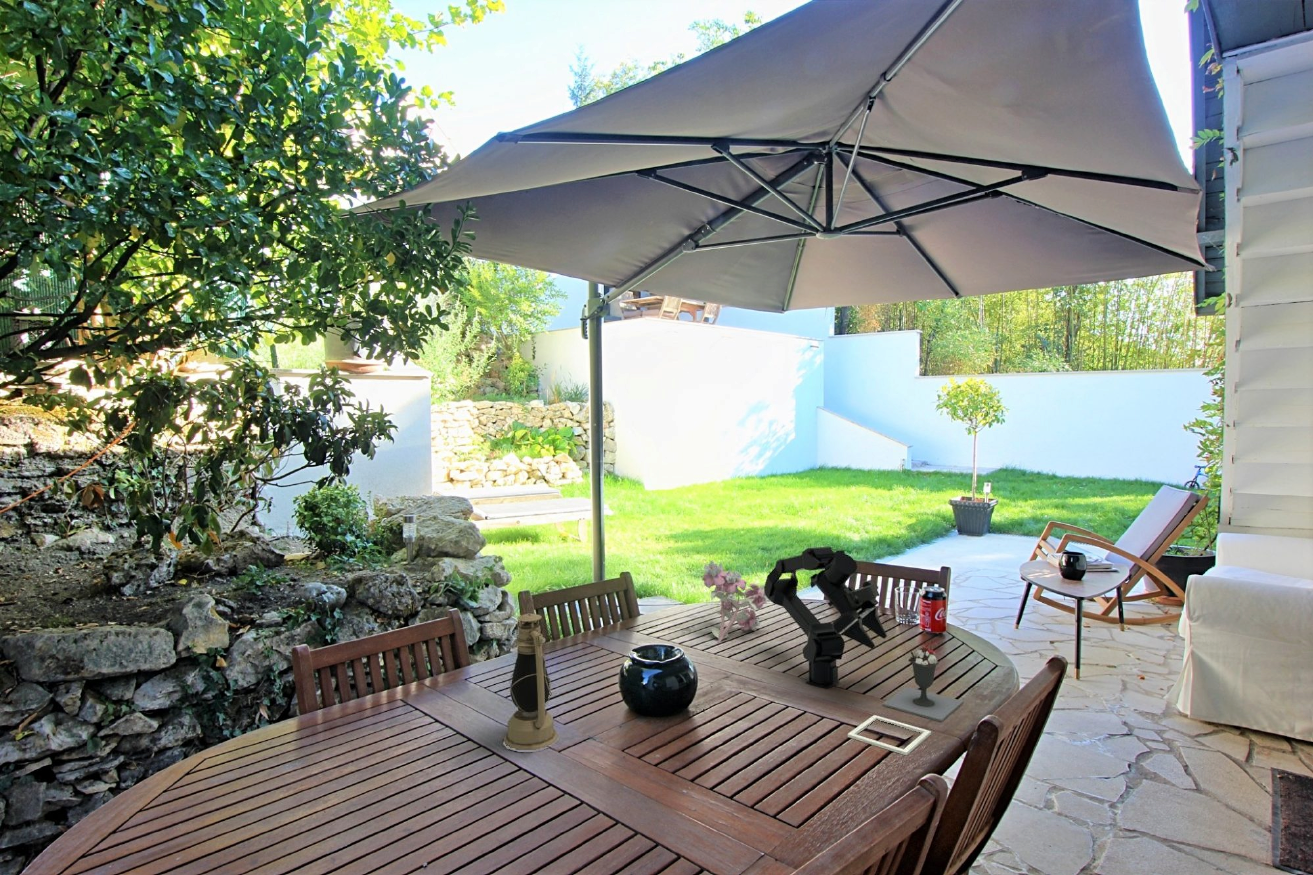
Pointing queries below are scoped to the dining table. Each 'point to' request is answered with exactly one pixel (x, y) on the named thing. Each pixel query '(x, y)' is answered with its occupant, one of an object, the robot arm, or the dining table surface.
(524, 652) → the lantern
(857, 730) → the stand rim
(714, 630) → the flower
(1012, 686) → the dining table surface
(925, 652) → the sundae
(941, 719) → the mat
